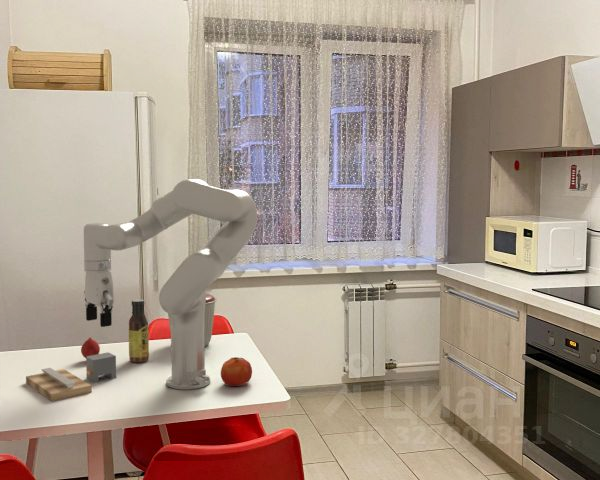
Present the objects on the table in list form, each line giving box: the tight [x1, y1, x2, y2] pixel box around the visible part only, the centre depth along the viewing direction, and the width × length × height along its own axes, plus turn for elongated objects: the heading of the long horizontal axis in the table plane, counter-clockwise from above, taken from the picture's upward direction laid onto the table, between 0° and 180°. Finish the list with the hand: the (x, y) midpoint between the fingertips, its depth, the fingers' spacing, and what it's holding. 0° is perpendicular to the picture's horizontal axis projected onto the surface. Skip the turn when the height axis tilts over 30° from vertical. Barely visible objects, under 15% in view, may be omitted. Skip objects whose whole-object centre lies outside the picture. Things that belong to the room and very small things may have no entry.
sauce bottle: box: [128, 299, 150, 363], centre depth 210 cm, size 6×6×20 cm
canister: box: [167, 292, 218, 347], centre depth 229 cm, size 18×18×21 cm
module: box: [85, 352, 117, 383], centre depth 193 cm, size 5×8×7 cm, turn 131°
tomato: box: [220, 357, 253, 387], centre depth 188 cm, size 9×9×8 cm
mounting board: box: [25, 368, 92, 402], centre depth 185 cm, size 20×11×2 cm, turn 41°
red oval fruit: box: [80, 336, 101, 359], centre depth 211 cm, size 6×6×8 cm
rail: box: [41, 367, 75, 389], centre depth 185 cm, size 18×2×2 cm, turn 41°
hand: (98, 323), depth 192 cm, fingers open, 9 cm apart
